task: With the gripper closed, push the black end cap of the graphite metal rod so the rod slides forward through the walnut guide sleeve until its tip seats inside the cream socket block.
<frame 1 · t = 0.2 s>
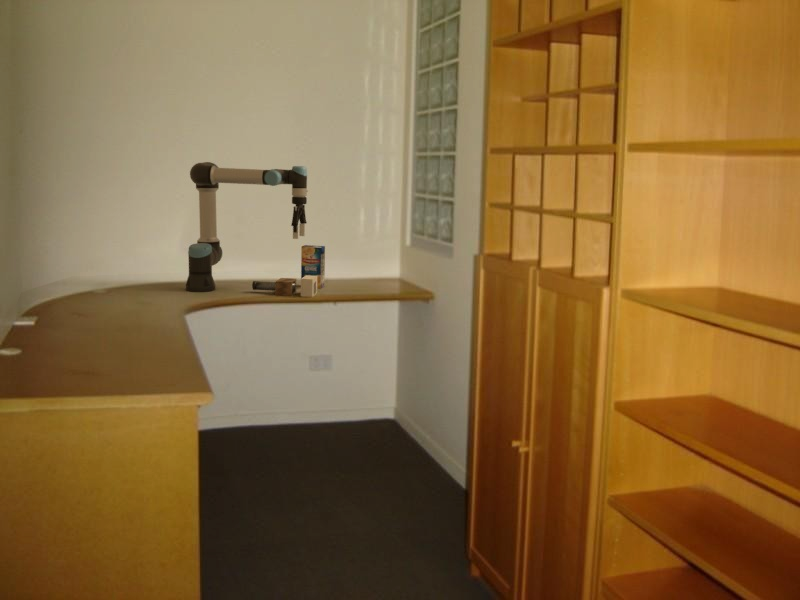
hand: (298, 237, 474), 28 cm above the table, fingers open, 13 cm apart
sleeve: (285, 293, 467), on the table
tube: (274, 286, 467), point 4 cm above the table, slide at 0.0 cm
beverage box: (312, 287, 489), on the table
socket: (308, 294, 466), on the table
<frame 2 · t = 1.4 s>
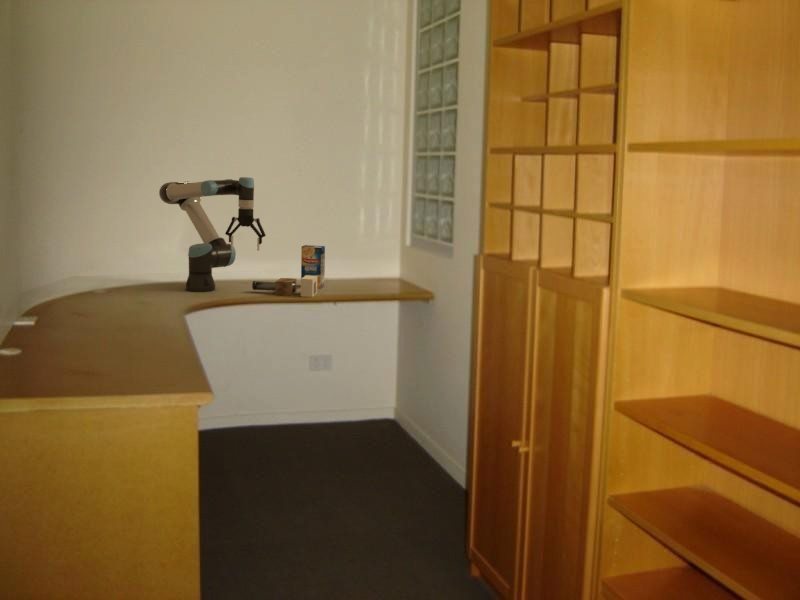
hand: (245, 249, 467), 22 cm above the table, fingers open, 13 cm apart
nothing on the table moved.
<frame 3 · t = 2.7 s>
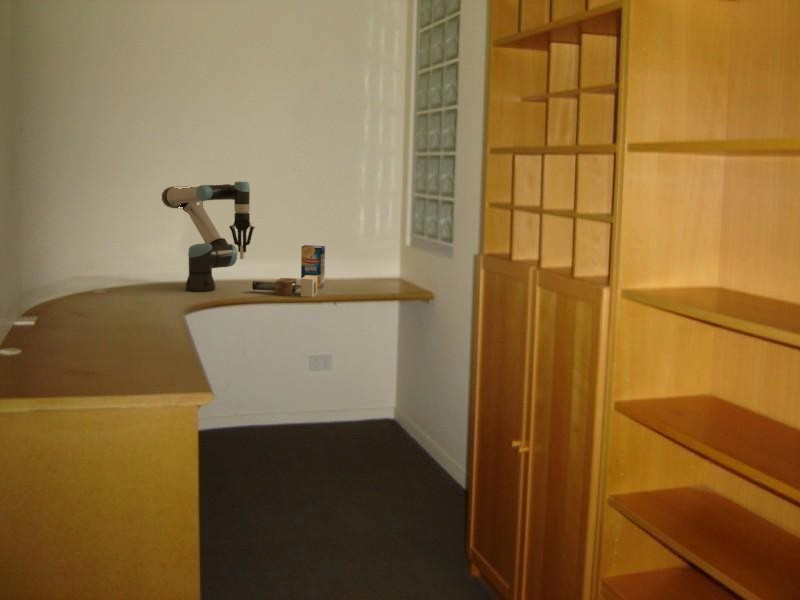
hand: (242, 258, 466), 17 cm above the table, fingers closed
nothing on the table moved.
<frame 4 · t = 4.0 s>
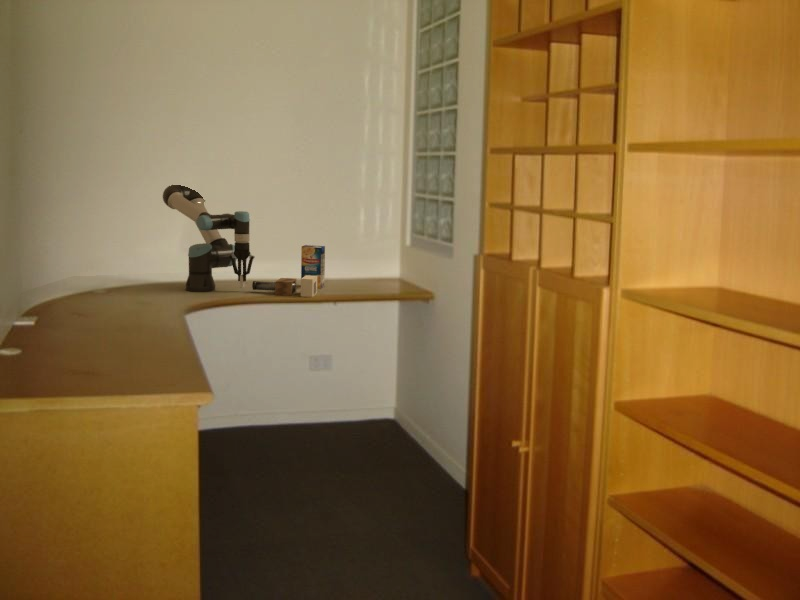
hand: (242, 287, 469), 2 cm above the table, fingers closed
nothing on the table moved.
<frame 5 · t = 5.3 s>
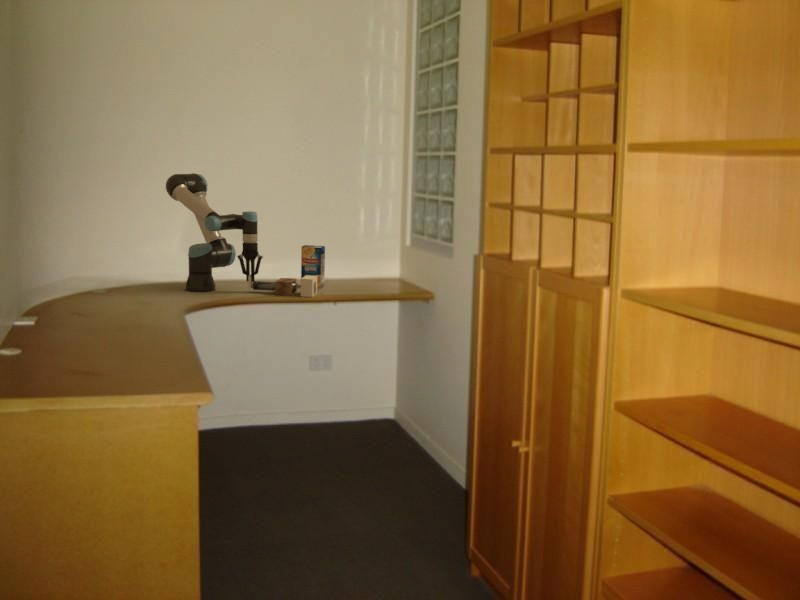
hand: (250, 287, 468), 2 cm above the table, fingers closed
tube: (274, 286, 467), point 4 cm above the table, slide at 0.3 cm, touching gripper
everything else where it was.
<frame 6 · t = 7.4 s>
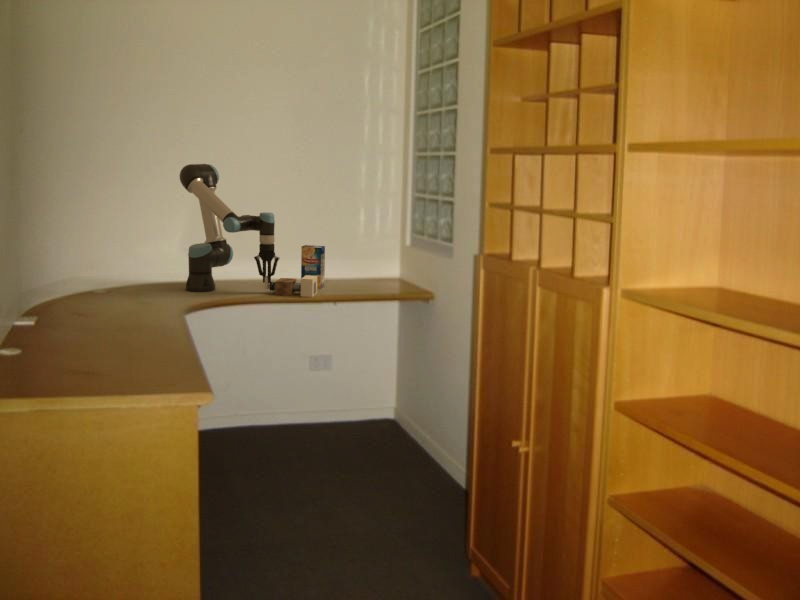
hand: (266, 289, 467), 2 cm above the table, fingers closed
tube: (291, 287, 466), point 4 cm above the table, slide at 8.9 cm, touching gripper
everything else where it was.
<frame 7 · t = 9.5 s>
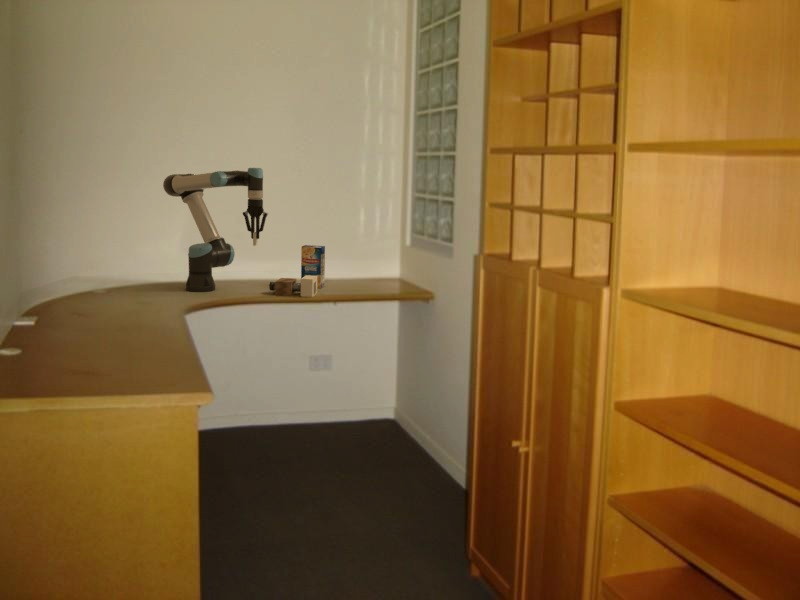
hand: (255, 245, 464), 24 cm above the table, fingers closed
tube: (291, 287, 466), point 4 cm above the table, slide at 8.9 cm
everything else where it was.
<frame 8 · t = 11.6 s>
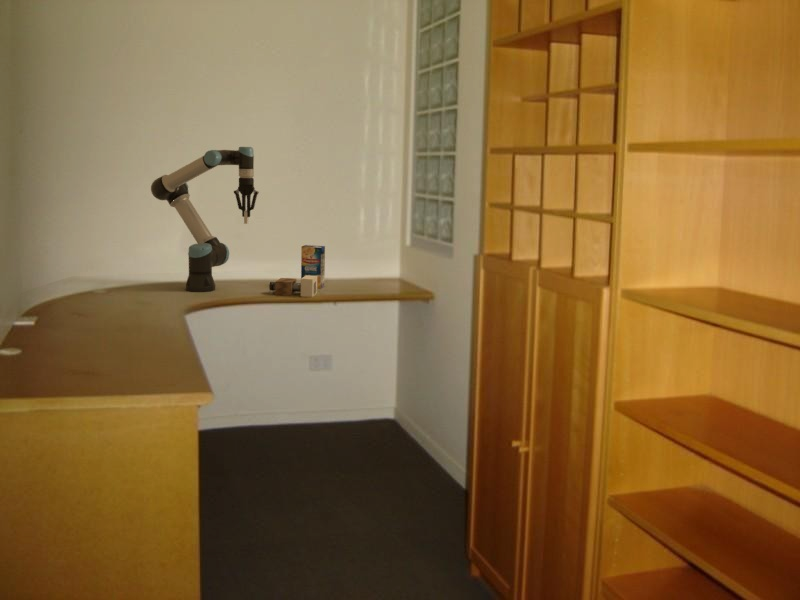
hand: (246, 223, 471), 34 cm above the table, fingers closed
nothing on the table moved.
at the end: tube slide at 8.9 cm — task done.
